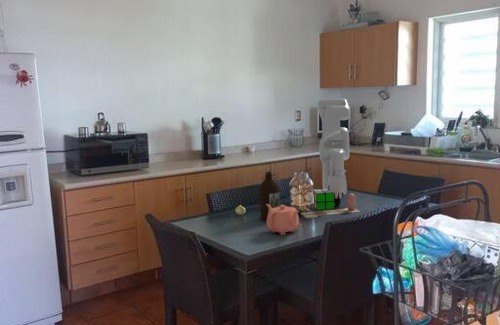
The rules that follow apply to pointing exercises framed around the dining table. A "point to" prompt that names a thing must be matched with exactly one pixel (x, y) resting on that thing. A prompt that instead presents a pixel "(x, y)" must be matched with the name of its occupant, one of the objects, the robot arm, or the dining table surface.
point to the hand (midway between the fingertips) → (337, 205)
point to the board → (326, 212)
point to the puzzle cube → (323, 199)
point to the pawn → (351, 202)
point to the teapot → (282, 219)
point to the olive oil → (268, 195)
